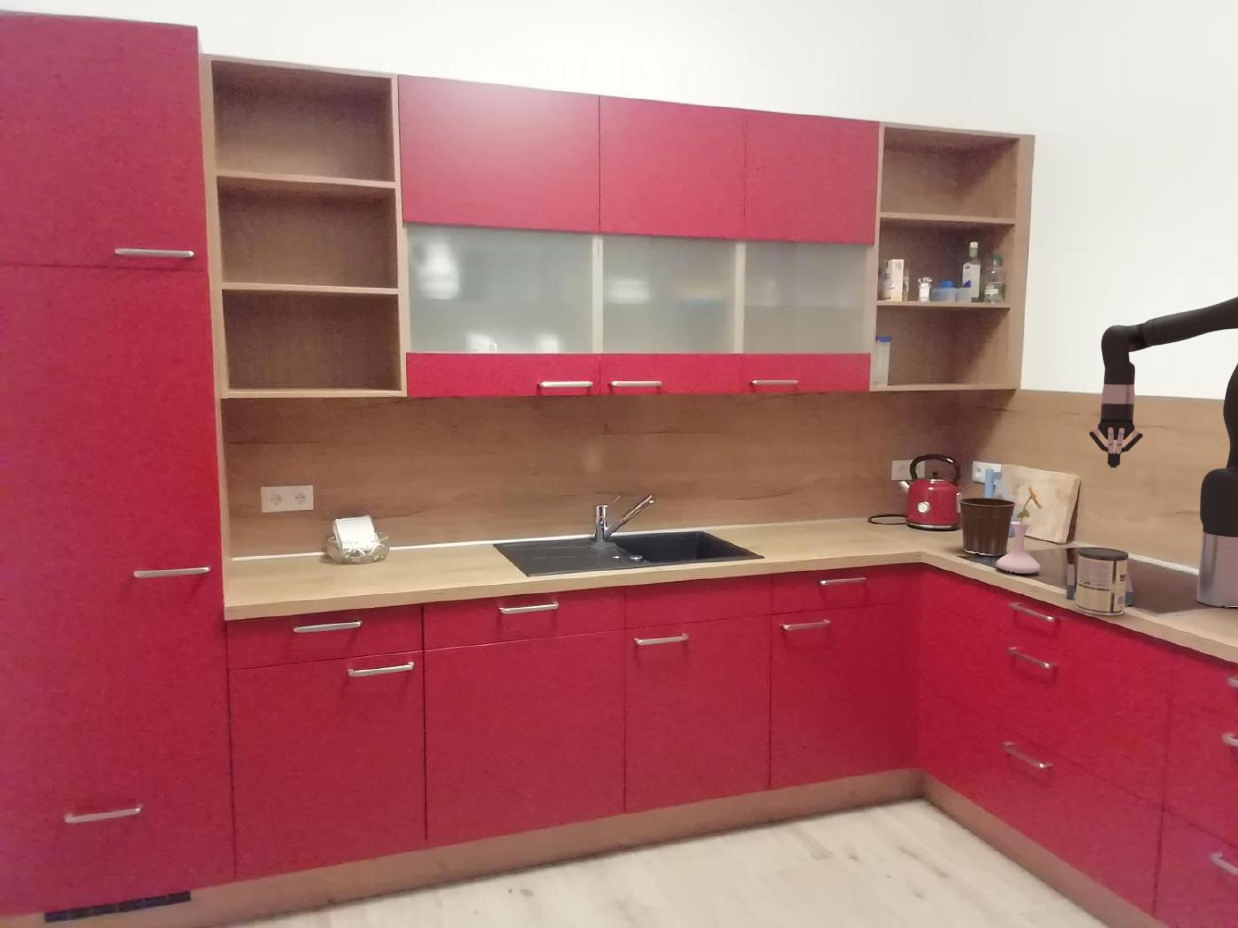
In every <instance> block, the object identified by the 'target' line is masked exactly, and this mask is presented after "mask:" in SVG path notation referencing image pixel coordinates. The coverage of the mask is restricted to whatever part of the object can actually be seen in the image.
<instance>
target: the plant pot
mask: <svg viewBox="0 0 1238 928" xmlns="http://www.w3.org/2000/svg"><path fill="white" fill-rule="evenodd" d="M957 501H958V503H959V508H960V509H959V510H960V514H961V522H962V524H961V525H962V527H961V528H962V540H963V541H962V544H963V545H962V546H963V548H964V549H965V550H967V551H973V552H979V553H985V554H992V555H998V554H1004V553H1006V554H1007V549H1008V543H1009V542H1008V541H1009V534H1010V528H1011V522H1012V517H1013V515H1014V510H1015V506H1017V502H1015V501H1012V500H1010V499H1009V500H1008V499H1002V498H996V497H994V498H993V497H963V498H959V499H958V500H957ZM1004 555H1005V554H1004Z"/></svg>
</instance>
